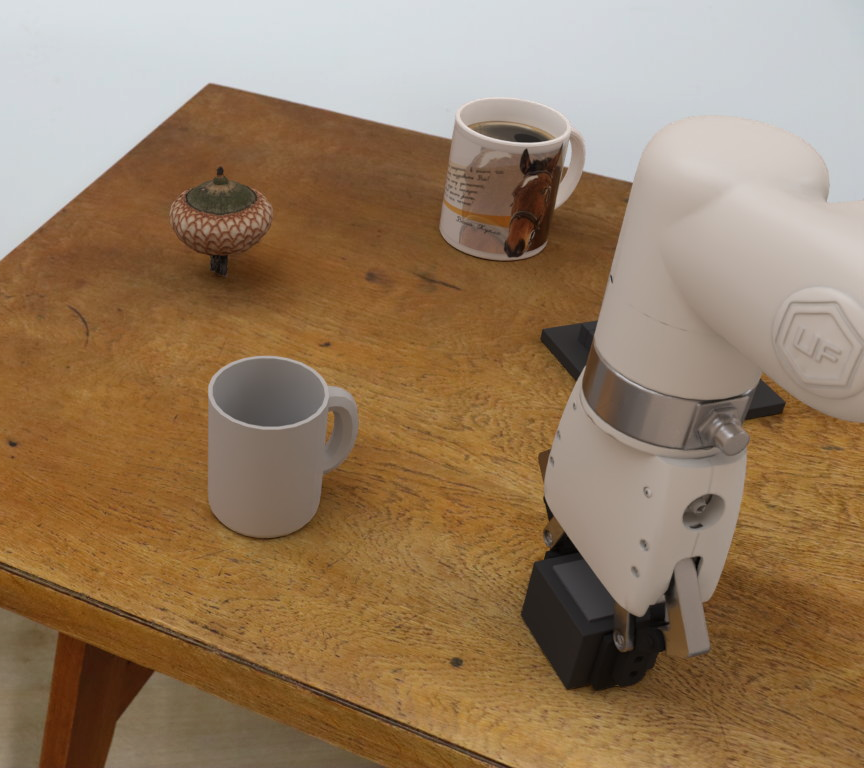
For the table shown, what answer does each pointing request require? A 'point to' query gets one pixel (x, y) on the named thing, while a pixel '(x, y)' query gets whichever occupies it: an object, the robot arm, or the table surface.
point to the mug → (507, 176)
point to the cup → (273, 443)
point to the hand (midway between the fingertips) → (587, 635)
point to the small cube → (570, 616)
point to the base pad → (575, 347)
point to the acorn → (220, 219)
